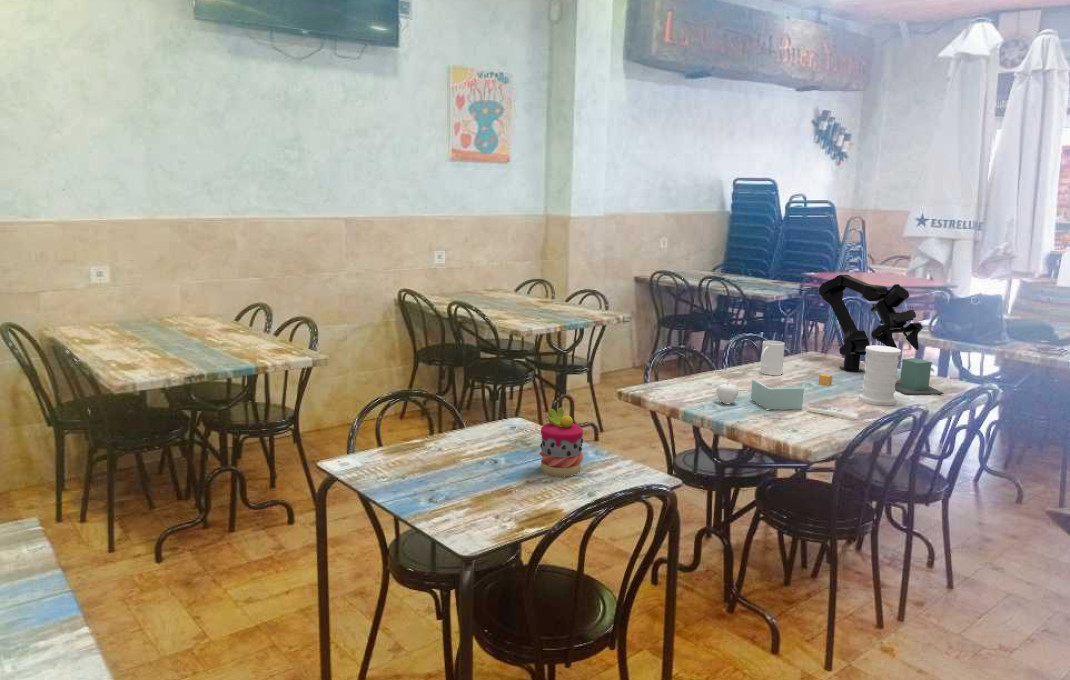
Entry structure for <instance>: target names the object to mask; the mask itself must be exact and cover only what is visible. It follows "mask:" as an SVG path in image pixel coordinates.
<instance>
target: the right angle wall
mask: <svg viewBox="0 0 1070 680" xmlns="http://www.w3.org/2000/svg"><path fill="white" fill-rule="evenodd" d="M804 391H805V388H804V387H780V388H777V387H776V388H774V387H773V388H770V387H768V385H765V384H763V383H761V382H760V381H758V380H757V379H752V381H751V392H750V394H751V395H750V400H751V399H752V400H753V401H755V402H756V403H755V402H754V403H755V404H757V403H758V404H760V405H761V406H763V407H764V408H763V407H762V408H763V409H765V408H766V409H792V410H803V402H804V393H805V392H804ZM752 400H751V401H752ZM753 401H752V402H753ZM758 404H757V405H758ZM760 405H759V406H760ZM761 406H760V407H761ZM766 409H765V410H766Z"/></svg>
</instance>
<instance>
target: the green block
mask: <svg viewBox="0 0 1070 680" xmlns="http://www.w3.org/2000/svg"><path fill="white" fill-rule="evenodd" d="M932 362H933V361H929V360H926V359H921V358H918V357H913V358H911V357H910V358H902V360H901V367H900V368H901V370H900V377H899V378H900V379H899V383H900V385H899V386H901V387H904V388H907V389H910V390H913V391H917V390H928V388H929V387H930V386H929V385H930V379H931V371H932V364H933V363H932Z"/></svg>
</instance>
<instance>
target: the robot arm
mask: <svg viewBox="0 0 1070 680" xmlns="http://www.w3.org/2000/svg"><path fill="white" fill-rule="evenodd" d="M846 289H849V290H852V291H855V292H856V293H859V294H861V296H862V298H864V299H865V300H866V301H868V302H876V303H874V304H873V303H872V307H871V308H870V311H871V312H877V315H878V316H879V318H880V321H879V325H877V326H876V327H875V328H874V329H873V330H872V331H871V337H872V339H873V340H876V341H877V342H880V343H882V344H883V345H884V346H888V347H894V348H898V346H897V344H896V342H895V339H894V338H893V334H902V335H903V336H905V340H906V341H907V342H908V344H910V345H911V347H912V348H914V350H915V351H918V350H919V349H920V347H919V337H918V336H919V333H920V332H921V331H922V329H923V328H924V327H923V325H922V324H921V322H910V323H909V324H908V322H909V321H914V319H915V318H916V317H917V313H916V312H915V310H914V309H909V310H906V311H902V312H901V311H900V312H899V311H897V310H896V309H895V308H899V307H900V306H901V305H902V304H903V303H904V302H905V301H907V299H908V298H909V297H910V293H909V291H908V290H907V289H906V288H905V287H903V286H901V285H900V284H898V283H897V284H896V283H894V284H893V285H892V286H891V288H889V289H888V287H886V285H885V286H884V285H880V284H871V283H867V282H866V281H862V280H860V279H858V278H855V277H854V276H851V275H849V274H839V275H837V276H835V277H834V278H831V279H829V280H827V281H825V282H822V283H821V285H820V286H819V289H818V292H819V294H820V296H821V299H822V300H823V301H825V302H826V303H827V304H829V305H830V307H831V309H832V311H833V312H834V315H835V317H836V320H837V321H838V323H839V325H840V328H841V330H842V331H843V334H844V336H843V343H844V344H842V346H840V347H839V350H838V351H839V354H840V355H842V356H844V359H843V366H839V368H840V369H841V370H843V371H845V372H863V369H861V368H860V365H861V364H860V363H861V356H866V355H867V352H866V351H865V350H866V346H870V341H869V340H870V338H869V337H868V336H867V333H866V331H865V330H860V329H858V328H857V326H856V325H855V322H854V320H853V318H852V316H851V314H850V311H849V309H848V308H847V306H846V304H845V302H844V299H843V298H844V291H845V290H846ZM906 325H907V326H906Z"/></svg>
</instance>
